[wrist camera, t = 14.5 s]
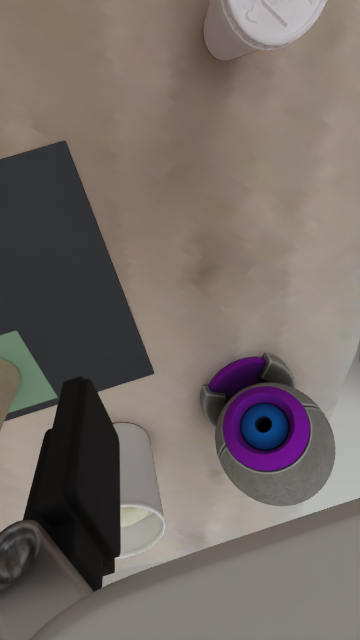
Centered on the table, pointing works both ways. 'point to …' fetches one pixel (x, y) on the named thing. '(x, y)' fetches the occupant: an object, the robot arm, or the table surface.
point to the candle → (7, 387)
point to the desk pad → (58, 285)
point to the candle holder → (138, 492)
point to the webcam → (268, 432)
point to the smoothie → (256, 25)
